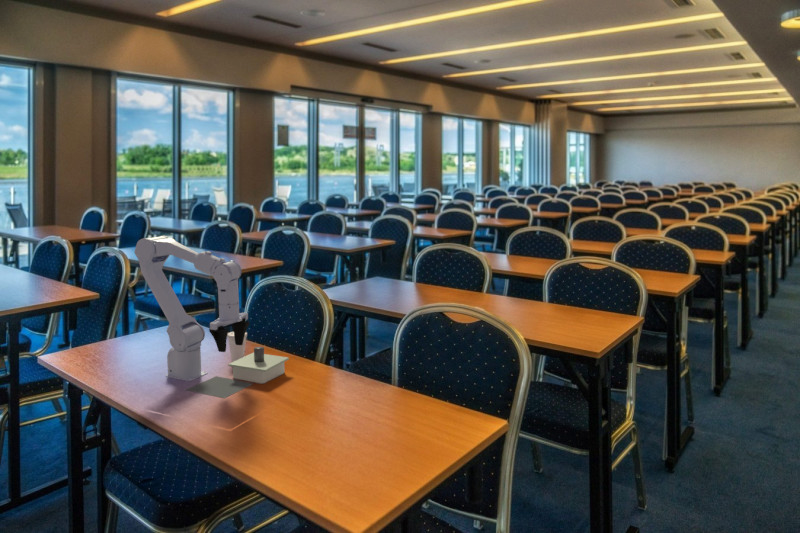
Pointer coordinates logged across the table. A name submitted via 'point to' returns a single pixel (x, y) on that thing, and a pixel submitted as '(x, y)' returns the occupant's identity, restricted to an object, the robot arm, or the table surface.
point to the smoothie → (236, 347)
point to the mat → (219, 387)
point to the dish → (258, 374)
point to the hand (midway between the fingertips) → (230, 348)
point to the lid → (258, 361)
